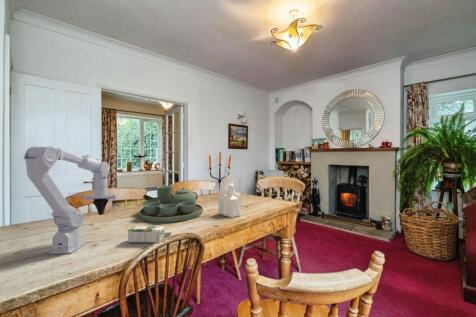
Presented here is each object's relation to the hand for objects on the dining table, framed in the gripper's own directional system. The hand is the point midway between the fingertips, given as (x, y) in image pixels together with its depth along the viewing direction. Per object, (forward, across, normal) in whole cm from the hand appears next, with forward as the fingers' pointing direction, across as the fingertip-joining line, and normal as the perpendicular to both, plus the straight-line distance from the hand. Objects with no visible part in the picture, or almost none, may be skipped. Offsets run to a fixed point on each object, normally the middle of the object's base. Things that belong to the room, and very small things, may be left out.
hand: (101, 214), depth 112 cm
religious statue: (+11, -66, -34) cm, 75 cm away
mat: (+10, -25, +5) cm, 28 cm away
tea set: (+11, -26, -37) cm, 47 cm away
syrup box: (+7, -16, +8) cm, 19 cm away
